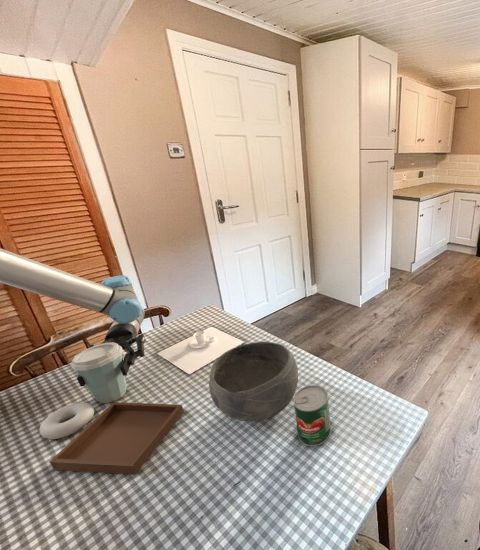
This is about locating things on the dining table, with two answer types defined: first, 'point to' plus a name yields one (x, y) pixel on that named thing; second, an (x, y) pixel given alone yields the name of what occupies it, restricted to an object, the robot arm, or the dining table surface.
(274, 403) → the bowl
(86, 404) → the donut
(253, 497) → the dining table surface
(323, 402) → the canned tomato
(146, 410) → the tray
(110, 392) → the disposable coffee cup
